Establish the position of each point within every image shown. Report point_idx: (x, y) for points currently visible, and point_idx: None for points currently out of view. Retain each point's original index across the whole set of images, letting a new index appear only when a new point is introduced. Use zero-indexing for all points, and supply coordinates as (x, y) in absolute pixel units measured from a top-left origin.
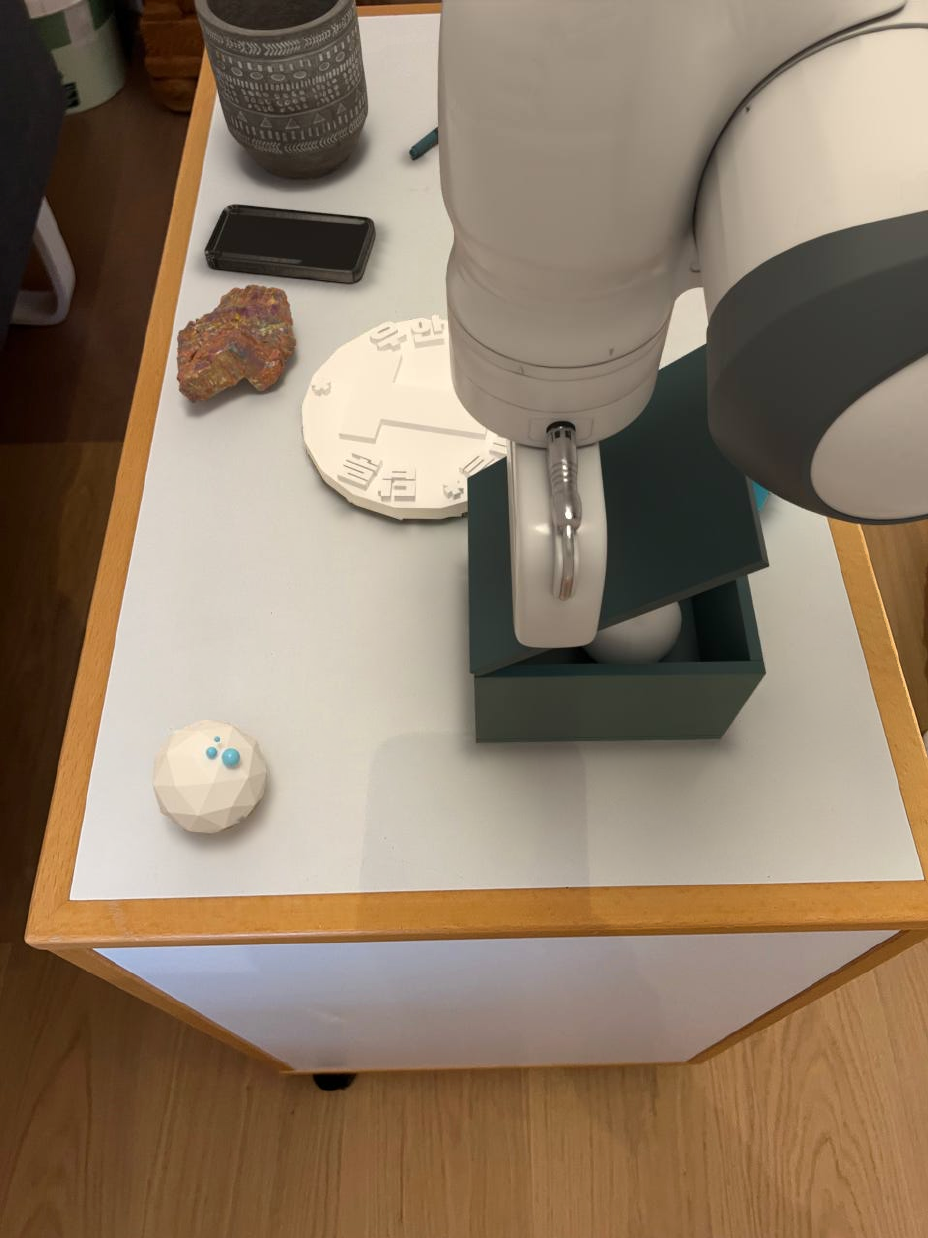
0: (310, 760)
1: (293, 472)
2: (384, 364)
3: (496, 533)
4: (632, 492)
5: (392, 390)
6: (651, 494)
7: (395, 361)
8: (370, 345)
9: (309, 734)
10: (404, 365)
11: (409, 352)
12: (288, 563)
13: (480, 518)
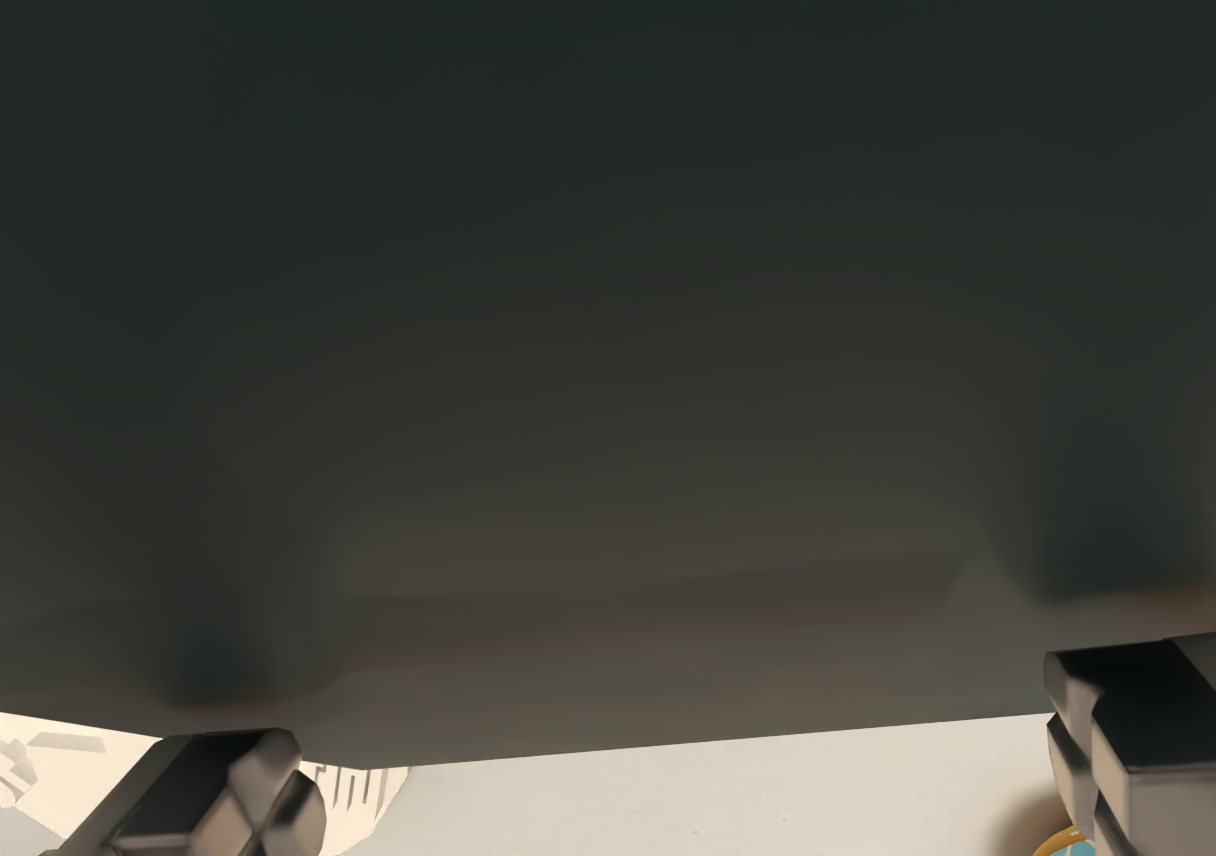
0: (1014, 727)
1: (379, 841)
2: (68, 772)
3: (594, 733)
4: (397, 470)
5: (125, 750)
6: (417, 324)
7: (50, 754)
8: (36, 791)
9: (955, 736)
10: (51, 726)
11: (14, 720)
12: (580, 821)
13: (520, 750)
